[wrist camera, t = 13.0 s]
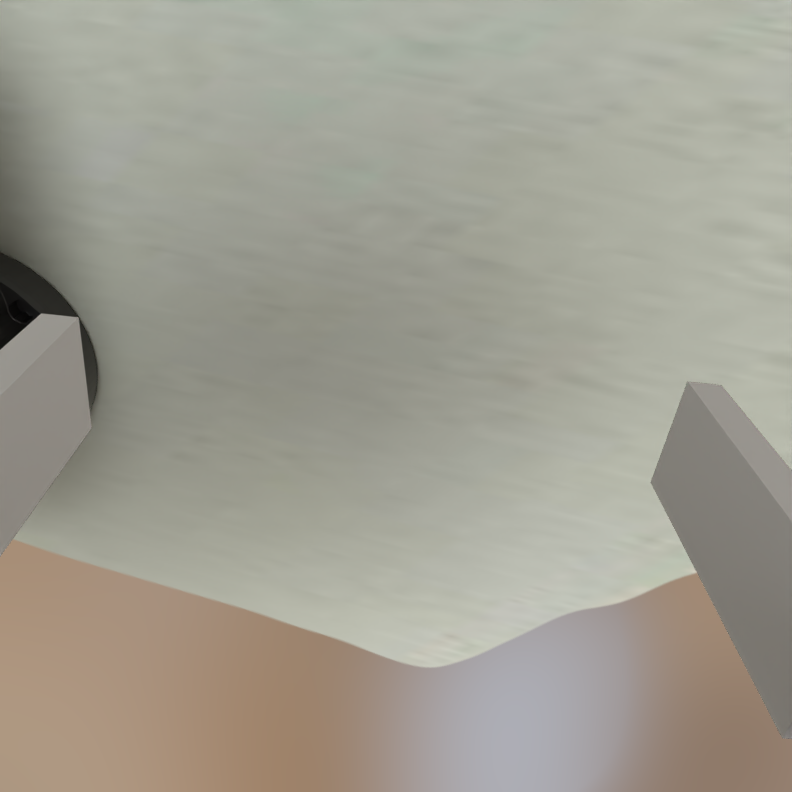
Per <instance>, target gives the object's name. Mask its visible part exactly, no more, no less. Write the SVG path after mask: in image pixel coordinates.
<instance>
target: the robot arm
mask: <svg viewBox="0 0 792 792" xmlns="http://www.w3.org/2000/svg"><path fill="white" fill-rule="evenodd" d="M96 388H97V367H96V360H95V356H94V352H93V349H92V345H91V343H90V340H89V338H88V335H87V333H86V331H85V329H84V327H83V325H82V324H81V322H80V320H79V317H77V316H76V314H75V313H74V311H73V310H72V309H71V307H70V306H69V305H68V303H67V302H66V301H65V300H64V299H63V298H62V296H61V295H60V294H59V293H58V292H57V291H56V290H55V289H54V288H53V287H51V286H50V285H49V284H48V283H47V282H46V281H45V280H43V279H42V278H41V277H40V276H38V275H37V274H36V273H34V272H33V271H32V270H30V269H29V268H27V267H25V266H24V265H22V264H21V263H19V262H17V261H15V260H14V259H12V258H10V257H8V256H6V255H4V254H1V253H0V556H1V555H2V553H3V552H4V550H5V549H6V548H7V546H8V545H9V543H10V542H11V541H12V539H13V538H14V536H15V535H16V534H17V532H18V531H19V529H20V528H21V527H22V525H23V524H24V522H25V521H26V520H27V518H28V517H29V515H30V514H31V513H32V511H33V510H34V508H35V507H36V505H37V504H38V503H39V501H40V500H41V498H42V497H43V496H44V494H45V493H46V491H47V490H48V489H49V487H50V486H51V484H52V483H53V482H54V480H55V479H56V477H57V476H58V475H59V473H60V472H61V470H62V469H63V468H64V466H65V465H66V463H67V462H68V461H69V459H70V458H71V456H72V455H73V454H74V452H75V451H76V449H77V448H78V447H79V445H80V444H81V442H82V441H83V440H84V438H85V437H86V435H87V434H88V433H89V431H90V430H91V428H92V425H91V417H90V409H91V407H92V404H93V401H94V398H95V394H96ZM651 484H652V486H653V488H654V490H655V492H656V494H657V496H658V498H659V500H660V501H661V503H662V505H663V507H664V509H665V511H666V513H667V515H668V517H669V519H670V521H671V523H672V525H673V527H674V529H675V531H676V533H677V535H678V536H679V538H680V540H681V542H682V544H683V546H684V548H685V550H686V552H687V554H688V556H689V558H690V560H691V562H692V564H693V566H694V568H695V570H696V571H697V573H698V575H699V577H700V579H701V581H702V583H703V585H704V587H705V589H706V591H707V593H708V595H709V597H710V598H711V601H712V602H713V605H714V606H715V608H716V610H717V612H718V614H719V616H720V618H721V620H722V622H723V624H724V626H725V628H726V630H727V632H728V634H729V636H730V638H731V640H732V641H733V643H734V645H735V647H736V649H737V651H738V653H739V655H740V657H741V659H742V661H743V663H744V665H745V667H746V669H747V671H748V673H749V675H750V676H751V678H752V680H753V682H754V684H755V686H756V688H757V690H758V692H759V694H760V696H761V698H762V700H763V702H764V704H765V705H766V707H767V710H768V711H769V713H770V715H771V717H772V719H773V721H774V723H775V725H776V727H777V729H778V731H779V733H780V735H781V737H782V738H787V739H792V470H791V469H790V468H789V467H788V465H787V464H786V463H785V462H784V460H783V459H782V458H781V457H780V456H779V454H778V453H777V452H776V451H775V450H774V448H773V447H772V446H771V445H770V444H769V442H768V441H767V440H766V439H765V437H764V436H763V435H762V434H761V433H760V431H759V430H758V429H757V428H756V427H755V425H754V424H753V423H752V422H751V420H750V419H749V418H748V417H747V416H746V414H745V413H744V412H743V411H742V410H741V408H740V407H739V406H738V405H737V403H736V402H735V401H734V400H733V399H732V397H731V396H730V395H729V394H728V393H727V391H726V390H725V389H724V388H723V386H722V385H716V384H707V383H697V382H688V381H687V384H686V387H685V390H684V392H683V395H682V398H681V401H680V403H679V406H678V409H677V412H676V414H675V417H674V420H673V423H672V425H671V428H670V431H669V433H668V436H667V439H666V442H665V444H664V447H663V450H662V453H661V455H660V458H659V461H658V464H657V466H656V469H655V472H654V475H653V477H652V480H651Z"/></svg>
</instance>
